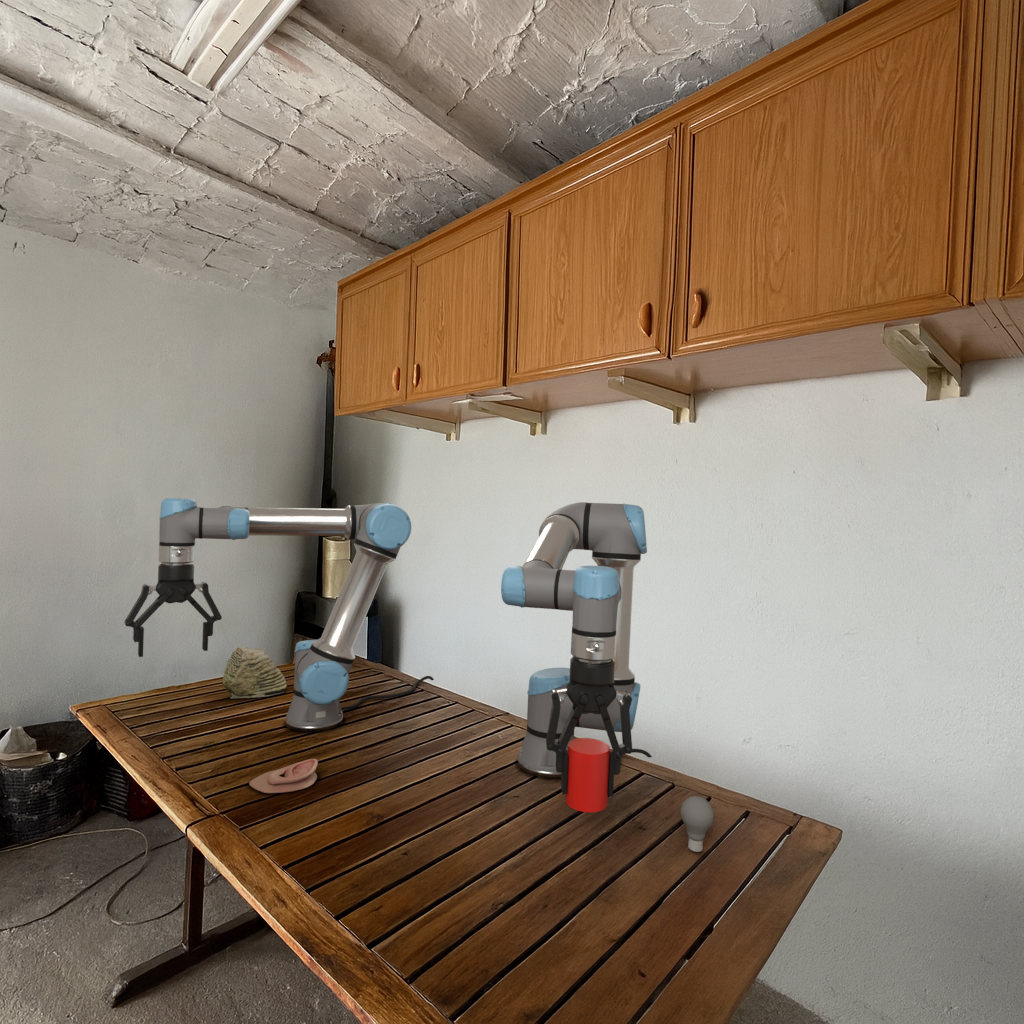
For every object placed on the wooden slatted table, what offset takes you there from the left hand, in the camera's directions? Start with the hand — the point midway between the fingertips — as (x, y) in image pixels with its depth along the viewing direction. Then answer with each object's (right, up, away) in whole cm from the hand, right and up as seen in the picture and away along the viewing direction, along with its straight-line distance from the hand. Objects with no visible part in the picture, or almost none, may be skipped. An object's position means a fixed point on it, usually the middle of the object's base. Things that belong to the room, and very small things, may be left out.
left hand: (173, 652), depth 150 cm
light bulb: (+115, -30, -31) cm, 123 cm away
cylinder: (+93, -16, -42) cm, 104 cm away
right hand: (+93, -14, -42) cm, 103 cm away
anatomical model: (+30, -26, -11) cm, 41 cm away
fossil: (0, -24, +48) cm, 53 cm away
